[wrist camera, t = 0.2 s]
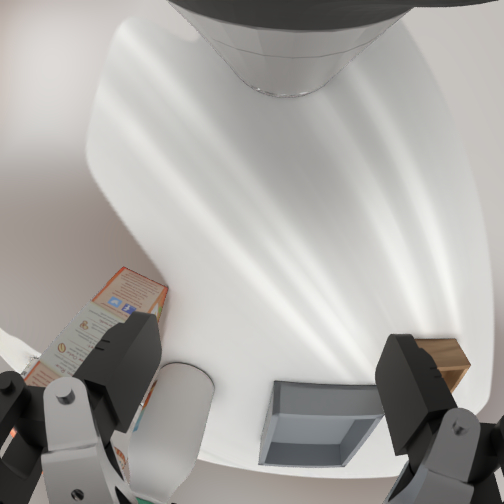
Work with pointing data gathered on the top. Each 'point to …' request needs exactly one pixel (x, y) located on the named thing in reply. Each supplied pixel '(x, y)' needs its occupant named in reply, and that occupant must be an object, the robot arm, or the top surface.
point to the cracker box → (96, 325)
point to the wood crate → (447, 359)
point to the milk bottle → (169, 432)
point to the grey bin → (318, 424)
